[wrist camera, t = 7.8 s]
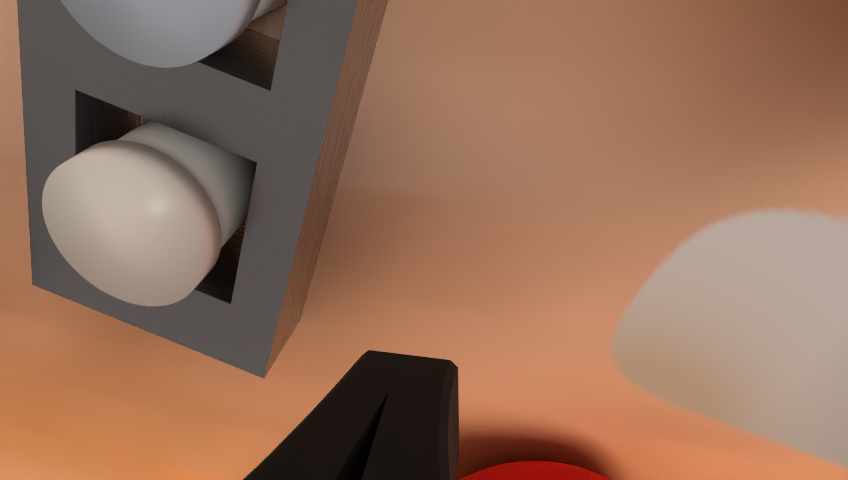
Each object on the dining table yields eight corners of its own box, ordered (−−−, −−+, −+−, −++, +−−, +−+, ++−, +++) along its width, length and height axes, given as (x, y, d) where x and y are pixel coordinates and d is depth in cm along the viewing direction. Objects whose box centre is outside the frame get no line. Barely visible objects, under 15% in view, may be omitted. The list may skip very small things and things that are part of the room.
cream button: (287, 127, 19) (212, 198, 15) (263, 243, 21) (193, 329, 17) (148, 71, 19) (39, 129, 15) (140, 194, 21) (44, 268, 18)
